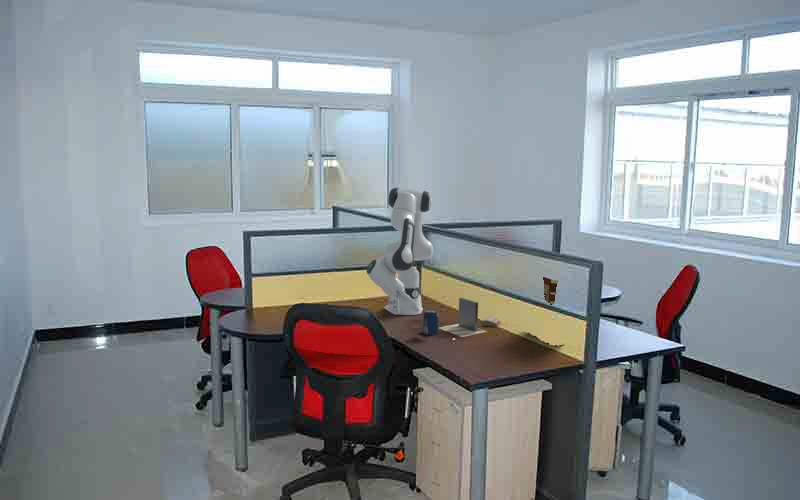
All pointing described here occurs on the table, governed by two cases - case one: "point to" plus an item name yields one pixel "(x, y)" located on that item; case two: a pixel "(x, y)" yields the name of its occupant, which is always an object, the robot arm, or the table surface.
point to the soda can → (430, 322)
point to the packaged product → (491, 321)
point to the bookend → (468, 314)
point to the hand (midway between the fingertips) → (415, 308)
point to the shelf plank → (460, 330)
